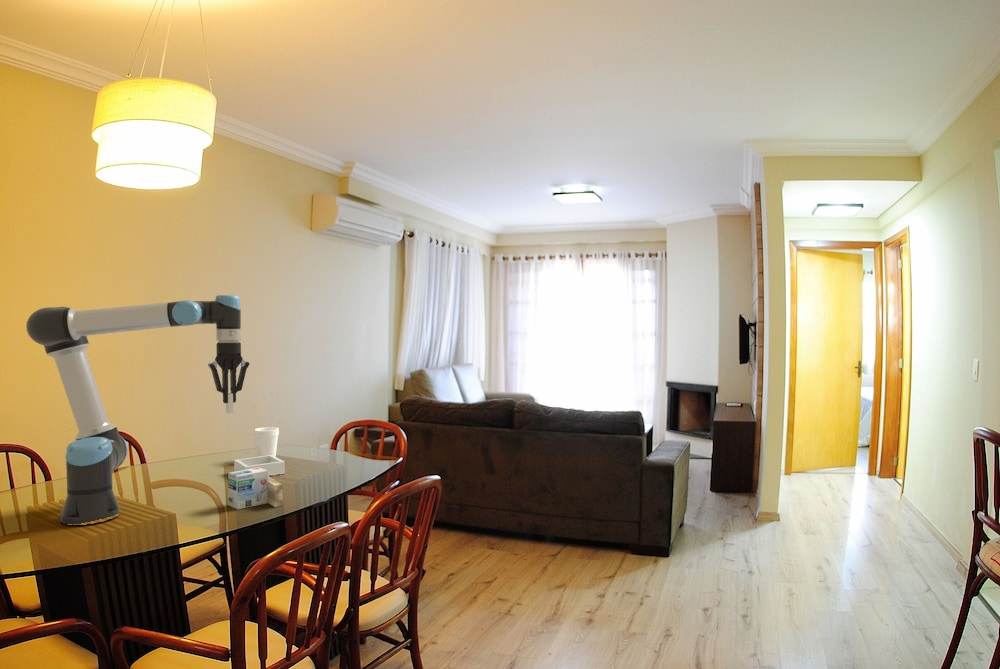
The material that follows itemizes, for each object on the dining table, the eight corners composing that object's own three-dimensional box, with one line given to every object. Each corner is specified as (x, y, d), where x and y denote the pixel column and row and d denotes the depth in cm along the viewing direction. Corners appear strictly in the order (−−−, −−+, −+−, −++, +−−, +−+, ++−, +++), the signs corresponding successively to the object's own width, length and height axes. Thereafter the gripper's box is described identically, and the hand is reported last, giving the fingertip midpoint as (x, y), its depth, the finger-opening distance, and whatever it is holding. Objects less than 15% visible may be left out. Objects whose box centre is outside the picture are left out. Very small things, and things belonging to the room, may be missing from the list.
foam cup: (258, 457, 283) (257, 427, 283) (280, 457, 284) (280, 426, 284) (252, 463, 274) (252, 431, 273) (276, 462, 275) (275, 430, 274)
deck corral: (246, 480, 246) (245, 467, 246) (234, 472, 258) (234, 459, 257) (284, 474, 255) (284, 461, 255) (271, 467, 266) (271, 454, 266)
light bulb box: (237, 510, 211) (237, 476, 210) (227, 505, 215) (227, 472, 215) (269, 502, 219) (268, 470, 218) (258, 498, 223) (258, 466, 223)
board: (274, 507, 214) (274, 485, 213) (254, 493, 230) (254, 473, 229) (282, 505, 215) (282, 484, 215) (261, 492, 231) (261, 471, 231)
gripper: (211, 342, 216) (212, 416, 217) (252, 341, 224) (253, 412, 225) (204, 341, 222) (205, 413, 223) (245, 340, 230) (246, 409, 231)
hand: (229, 412), depth 224 cm, fingers closed
